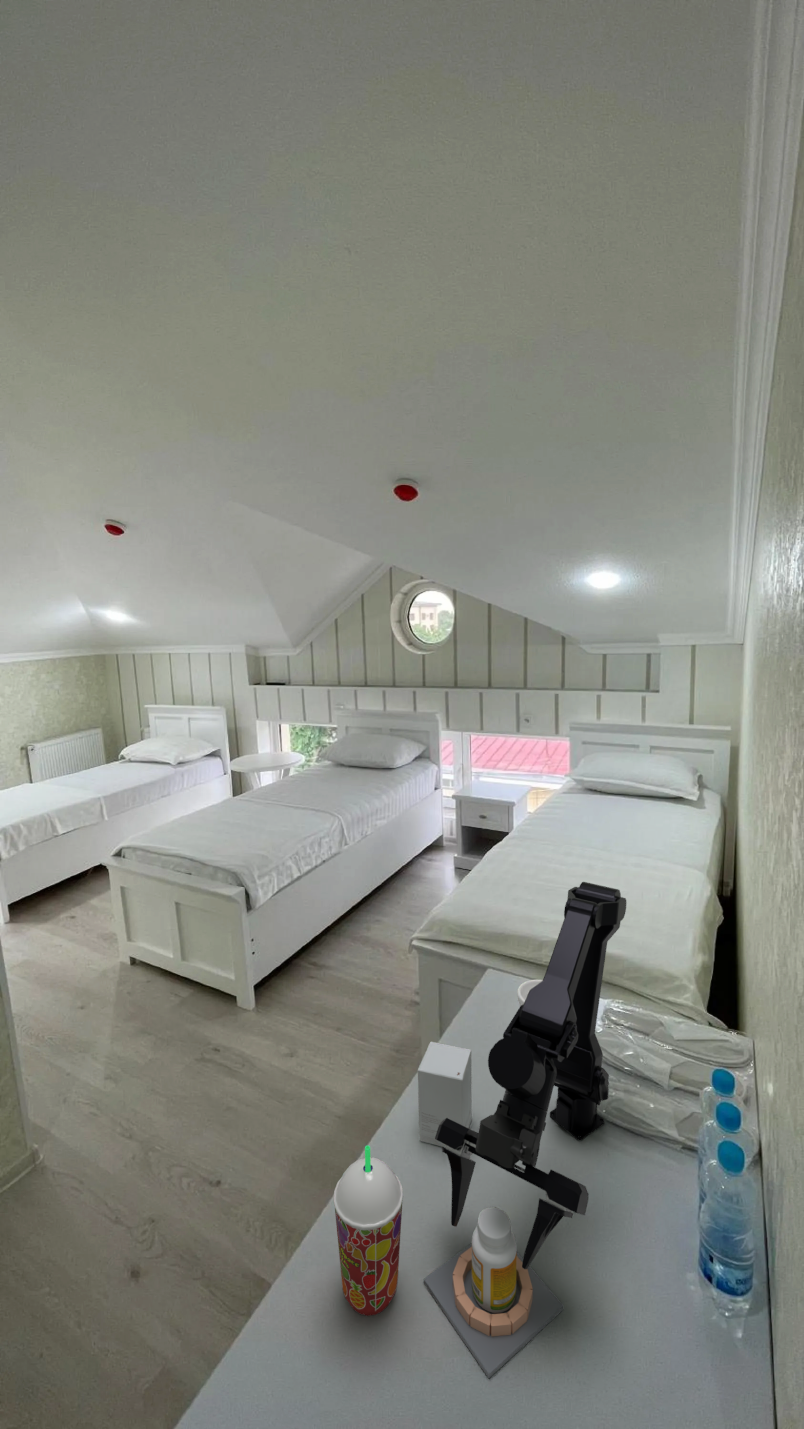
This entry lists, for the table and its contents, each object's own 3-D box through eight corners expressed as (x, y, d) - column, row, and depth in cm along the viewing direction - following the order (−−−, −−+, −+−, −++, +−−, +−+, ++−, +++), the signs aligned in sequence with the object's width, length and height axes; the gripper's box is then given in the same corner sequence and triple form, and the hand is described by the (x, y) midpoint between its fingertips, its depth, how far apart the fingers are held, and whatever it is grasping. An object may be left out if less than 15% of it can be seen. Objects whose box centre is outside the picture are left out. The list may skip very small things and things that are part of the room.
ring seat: (494, 1229, 83) (494, 1216, 83) (563, 1309, 73) (563, 1295, 73) (423, 1283, 77) (423, 1269, 76) (488, 1378, 67) (489, 1363, 66)
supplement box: (472, 1118, 102) (473, 1049, 100) (462, 1154, 95) (462, 1080, 94) (430, 1107, 105) (430, 1039, 103) (417, 1141, 98) (416, 1069, 96)
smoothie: (328, 1273, 78) (323, 1133, 75) (388, 1246, 81) (386, 1111, 78) (348, 1342, 70) (345, 1189, 67) (414, 1310, 74) (414, 1163, 71)
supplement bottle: (521, 1280, 76) (522, 1212, 75) (508, 1324, 71) (509, 1252, 70) (480, 1260, 79) (481, 1194, 77) (465, 1301, 74) (465, 1231, 73)
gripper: (442, 1062, 80) (395, 1202, 72) (584, 1125, 70) (547, 1295, 62) (469, 1079, 87) (429, 1207, 80) (601, 1138, 77) (570, 1292, 70)
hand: (487, 1246), depth 73 cm, fingers open, 9 cm apart
